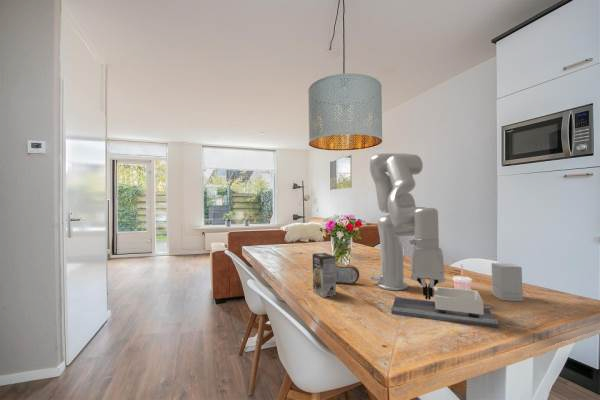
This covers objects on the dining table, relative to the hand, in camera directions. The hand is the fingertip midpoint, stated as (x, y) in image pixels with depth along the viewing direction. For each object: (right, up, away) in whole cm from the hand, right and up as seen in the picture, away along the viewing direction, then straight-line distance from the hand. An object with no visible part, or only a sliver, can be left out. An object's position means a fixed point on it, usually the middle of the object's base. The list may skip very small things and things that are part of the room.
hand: (428, 298), depth 96 cm
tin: (-23, -6, +37) cm, 44 cm away
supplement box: (+36, -4, +12) cm, 38 cm away
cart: (+8, -3, -4) cm, 9 cm away
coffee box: (-33, -6, +22) cm, 40 cm away
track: (+3, -5, -2) cm, 6 cm away
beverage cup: (+16, -5, +8) cm, 19 cm away
